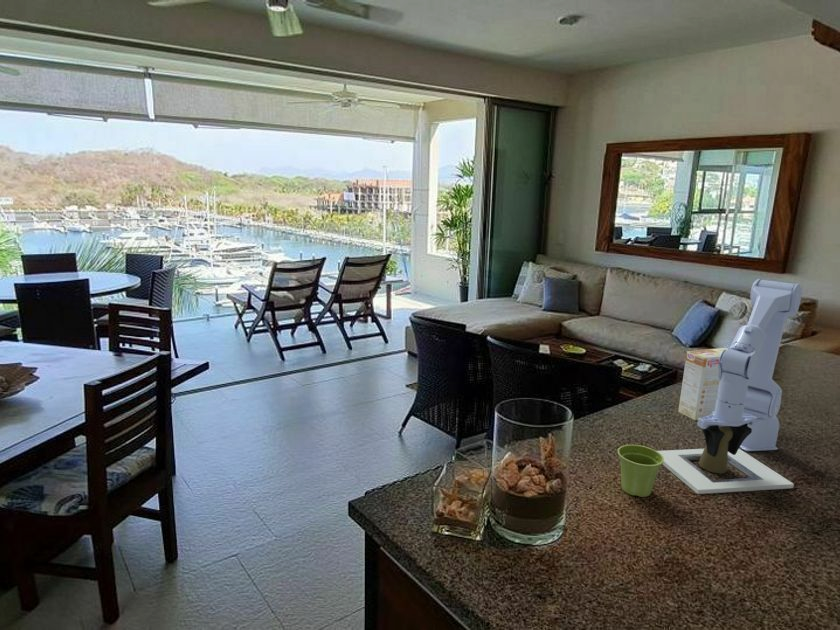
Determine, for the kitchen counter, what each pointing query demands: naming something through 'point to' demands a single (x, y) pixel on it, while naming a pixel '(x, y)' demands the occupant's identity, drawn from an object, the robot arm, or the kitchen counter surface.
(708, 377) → the coffeecake box
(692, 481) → the white picture frame
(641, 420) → the kitchen counter surface
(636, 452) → the plant pot
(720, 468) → the cork
